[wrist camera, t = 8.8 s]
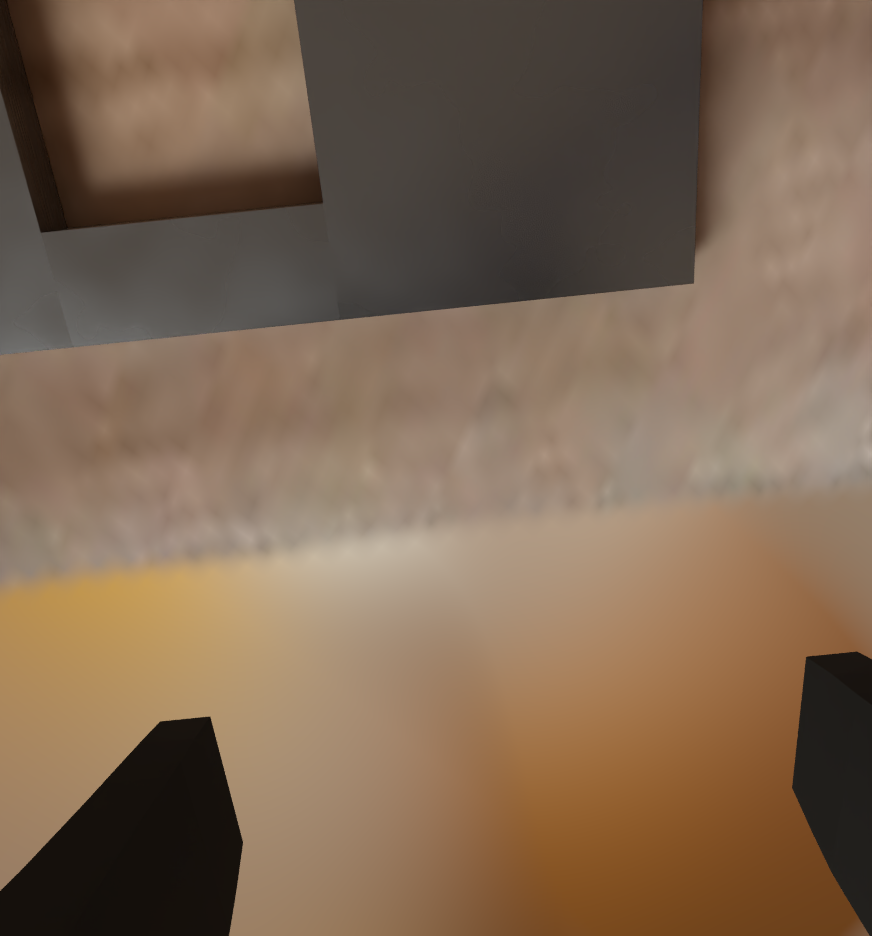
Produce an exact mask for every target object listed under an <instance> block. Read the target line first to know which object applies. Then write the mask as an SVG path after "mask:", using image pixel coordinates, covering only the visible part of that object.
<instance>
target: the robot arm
mask: <svg viewBox="0 0 872 936" xmlns="http://www.w3.org/2000/svg"><path fill="white" fill-rule="evenodd" d="M792 788H793V791H794V793H795V795H796V797H797V799H798V802H799V804H800V806H801V808H802V811H803V813H804V815H805V817H806V819H807V822H808V824H809V826H810V828H811V831H812V833H813V835H814V837H815V839H816V841H817V843H818V845H819V847H820V849H821V851H822V853H823V855H824V858H825V860H826V862H827V864H828V866H829V868H830V870H831V872H832V874H833V876H834V877H835V879H836V881H837V882H838V884H839V886H840V887H841V889H842V891H843V892H844V894H845V896H846V897H847V899H848V901H849V902H850V904H851V906H852V907H853V909H854V910H855V912H856V914H857V915H858V917H859V919H860V920H861V922H862V924H863V925H864V927H865V928H866V930H867V932H868V933H869V935H870V936H872V659H870V658H868V657H866V656H864V655H862V654H861V653H858V652H849V653H839V654H829V655H819V656H809V657H806V664H805V673H804V682H803V692H802V701H801V711H800V720H799V729H798V739H797V748H796V757H795V767H794V776H793V785H792ZM242 846H243V841H242V837H241V833H240V829H239V825H238V821H237V818H236V814H235V810H234V806H233V802H232V798H231V794H230V791H229V787H228V783H227V779H226V775H225V771H224V768H223V764H222V760H221V756H220V752H219V748H218V745H217V741H216V737H215V733H214V729H213V726H212V722H211V718H210V717H201V718H191V719H181V720H171V721H162V722H159V724H158V725H157V726H156V727H155V728H154V729H153V730H152V731H151V732H150V733H149V734H148V735H147V736H146V737H145V738H144V739H143V740H142V741H141V742H140V743H139V744H138V746H137V747H136V748H135V749H134V750H133V751H132V752H131V753H130V754H129V755H128V756H127V757H126V759H125V760H124V761H123V762H122V763H121V764H120V765H119V766H118V767H117V768H116V769H115V771H114V772H113V773H112V774H111V775H110V776H109V777H108V778H107V779H106V780H105V781H104V783H103V784H102V785H101V786H100V787H99V788H98V789H97V790H96V791H95V792H94V793H93V795H92V796H91V797H90V798H89V799H88V800H87V801H86V802H85V803H84V805H82V806H81V808H80V809H79V810H78V811H77V812H76V813H75V814H74V815H73V816H72V817H71V818H70V819H69V820H68V821H67V823H66V824H65V825H64V826H63V827H62V828H61V829H60V830H59V831H58V832H57V833H56V834H55V835H54V836H53V837H52V838H51V839H50V840H49V842H48V843H47V844H46V845H45V846H44V847H43V848H42V849H41V850H40V851H39V852H38V853H37V854H36V856H34V857H33V858H32V860H31V861H30V862H29V863H28V864H27V865H26V866H25V867H24V868H23V869H22V870H21V871H20V872H19V873H18V874H17V875H16V876H15V877H14V878H13V879H12V880H11V881H10V882H9V883H8V884H7V885H6V886H5V887H4V888H3V889H2V890H1V891H0V936H229V932H230V926H231V920H232V914H233V908H234V902H235V895H236V889H237V881H238V875H239V867H240V860H241V853H242Z"/></svg>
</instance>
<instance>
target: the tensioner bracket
mask: <svg viewBox="0 0 872 936" xmlns="http://www.w3.org/2000/svg"><path fill="white" fill-rule="evenodd" d="M294 3H295V10H296V17H297V24H298V31H299V38H300V45H301V52H302V59H303V66H304V73H305V80H306V87H307V94H308V101H309V107H310V114H311V121H312V128H313V135H314V142H315V149H316V156H317V163H318V170H319V177H320V184H321V191H322V198H323V202H316V203H307V204H297V205H287V206H278V207H268V208H258V209H249V210H239V211H229V212H220V213H210V214H201V215H191V216H181V217H172V218H162V219H152V220H143V221H133V222H123V223H114V224H104V225H94V226H85V227H75V228H67V226H66V223H65V219H64V215H63V211H62V208H61V204H60V200H59V196H58V193H57V189H56V185H55V182H54V178H53V174H52V170H51V167H50V163H49V159H48V155H47V152H46V148H45V144H44V141H43V137H42V133H41V129H40V126H39V122H38V118H37V114H36V111H35V107H34V103H33V100H32V96H31V92H30V88H29V85H28V81H27V77H26V73H25V70H24V66H23V62H22V59H21V55H20V51H19V47H18V44H17V40H16V36H15V32H14V29H13V25H12V21H11V17H10V14H9V10H8V6H7V3H6V0H0V355H2V354H12V353H22V352H32V351H41V350H51V349H61V348H71V347H80V346H90V345H100V344H109V343H119V342H129V341H139V340H148V339H158V338H168V337H177V336H187V335H197V334H207V333H216V332H226V331H236V330H245V329H255V328H265V327H275V326H284V325H294V324H304V323H313V322H323V321H333V320H343V319H352V318H362V317H372V316H382V315H391V314H401V313H411V312H420V311H430V310H440V309H450V308H459V307H469V306H479V305H488V304H498V303H508V302H518V301H527V300H537V299H547V298H556V297H566V296H576V295H586V294H595V293H605V292H615V291H624V290H634V289H644V288H654V287H663V286H673V285H683V284H693V283H694V262H695V231H696V199H697V168H698V137H699V106H700V75H701V43H702V12H703V0H294Z"/></svg>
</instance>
